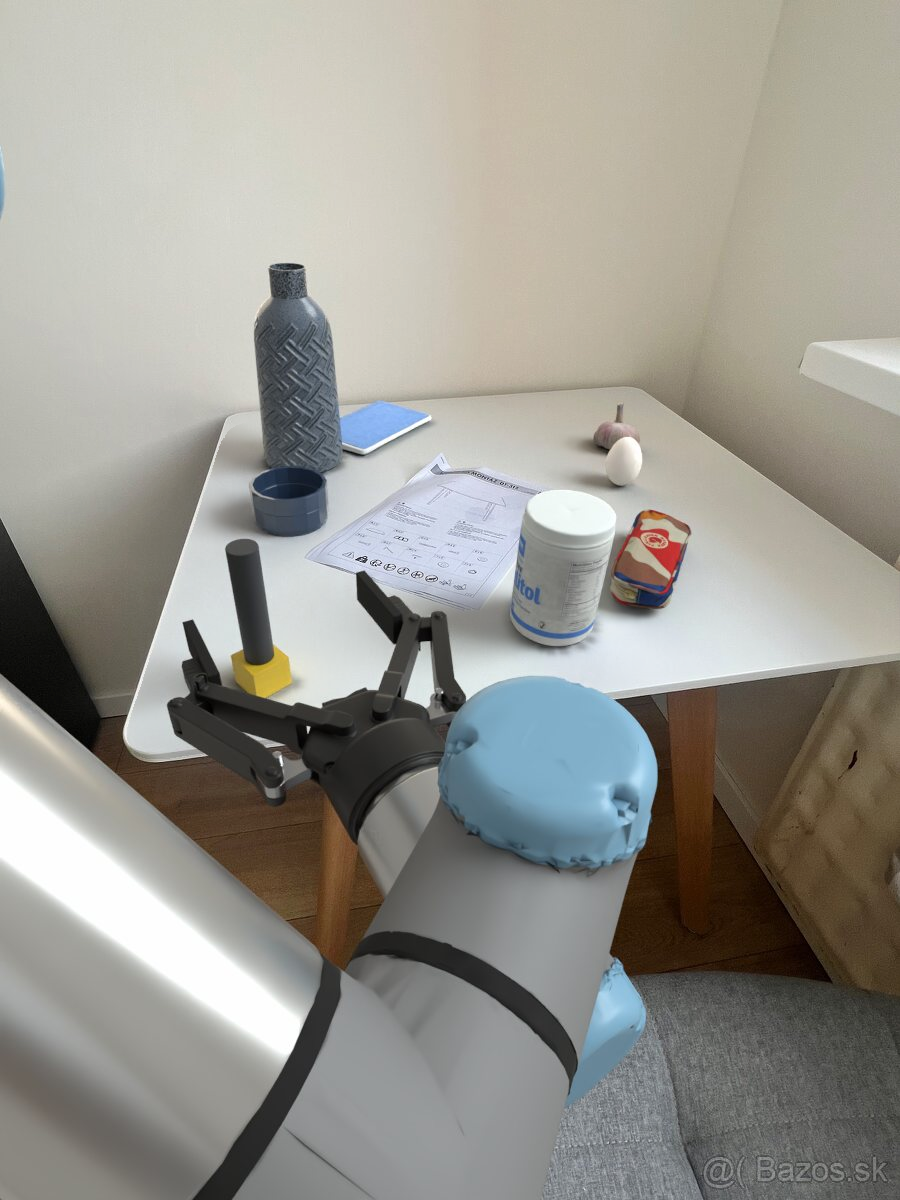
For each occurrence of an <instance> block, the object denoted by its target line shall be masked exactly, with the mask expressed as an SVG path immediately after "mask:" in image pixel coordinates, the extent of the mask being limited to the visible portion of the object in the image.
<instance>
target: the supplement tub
mask: <svg viewBox="0 0 900 1200" xmlns="http://www.w3.org/2000/svg"><path fill="white" fill-rule="evenodd" d="M616 523H617V514H616V512H615V510H614V509H613V508H612V506H611V505H610V504H609V503H608V502H606V501H604V500H603V499H601V498H599V497H597V496H595V495H593V494H589V493H587V492H583V491H579V490H571V489H551V490H545V491H542V492H539V493H537V494H535V495H533V496H531V497H530V498H529V499H528V501H527V502H526V504H525V507H524V513H523V515H522V520H521V525H520V533H519V539H518V546H517V555H516V562H515V570H514V577H513V578H514V579H513V583H512V584H513V586H512V592H511V599H510V600H511V601H510V610H509V617H510V621H511V623H512V625H513V627H514V629H516V631H518V633H520V635H522V636H524V637H525V638H527V639H529V640H531V641H533V642H535V643H537V644H541V645H544V646H551V647H565V646H571V645H575V644H578V643H580V642H581V641H583V640H585V639H587V637H588V636H589V635H590V634H591V632H592V630H593V628H594V625H595V621H596V618H597V617H596V616H597V612H598V608H599V603H600V599H601V596H602V590H603V587H604V583H605V577H606V574H607V568H608V564H609V560H610V556H611V551H612V549H613V544H614V538H615V534H616Z"/></svg>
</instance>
